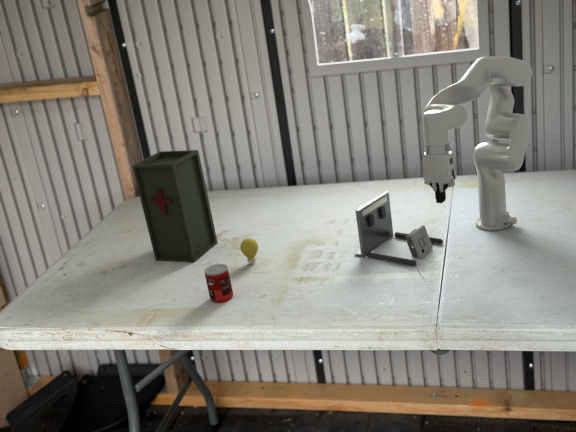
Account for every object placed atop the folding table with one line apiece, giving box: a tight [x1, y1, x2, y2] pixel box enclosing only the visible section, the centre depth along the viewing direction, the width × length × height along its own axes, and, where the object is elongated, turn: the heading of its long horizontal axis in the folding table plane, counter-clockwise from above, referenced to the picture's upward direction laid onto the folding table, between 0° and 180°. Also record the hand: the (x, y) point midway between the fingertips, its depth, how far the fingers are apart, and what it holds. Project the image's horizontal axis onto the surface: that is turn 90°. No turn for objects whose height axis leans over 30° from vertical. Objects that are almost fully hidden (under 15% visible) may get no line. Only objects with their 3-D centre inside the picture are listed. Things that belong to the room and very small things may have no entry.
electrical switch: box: [404, 225, 433, 259], centre depth 232 cm, size 9×5×9 cm, turn 141°
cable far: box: [393, 231, 444, 245], centre depth 243 cm, size 20×2×2 cm, turn 49°
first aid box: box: [131, 149, 218, 263], centre depth 261 cm, size 18×18×40 cm
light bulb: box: [239, 237, 259, 266], centre depth 245 cm, size 7×7×10 cm
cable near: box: [365, 252, 417, 267], centre depth 230 cm, size 20×2×2 cm, turn 49°
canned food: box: [203, 263, 234, 304], centre depth 222 cm, size 8×8×11 cm
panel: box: [354, 190, 394, 258], centre depth 242 cm, size 5×20×18 cm, turn 139°
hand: (440, 201), depth 219 cm, fingers closed
